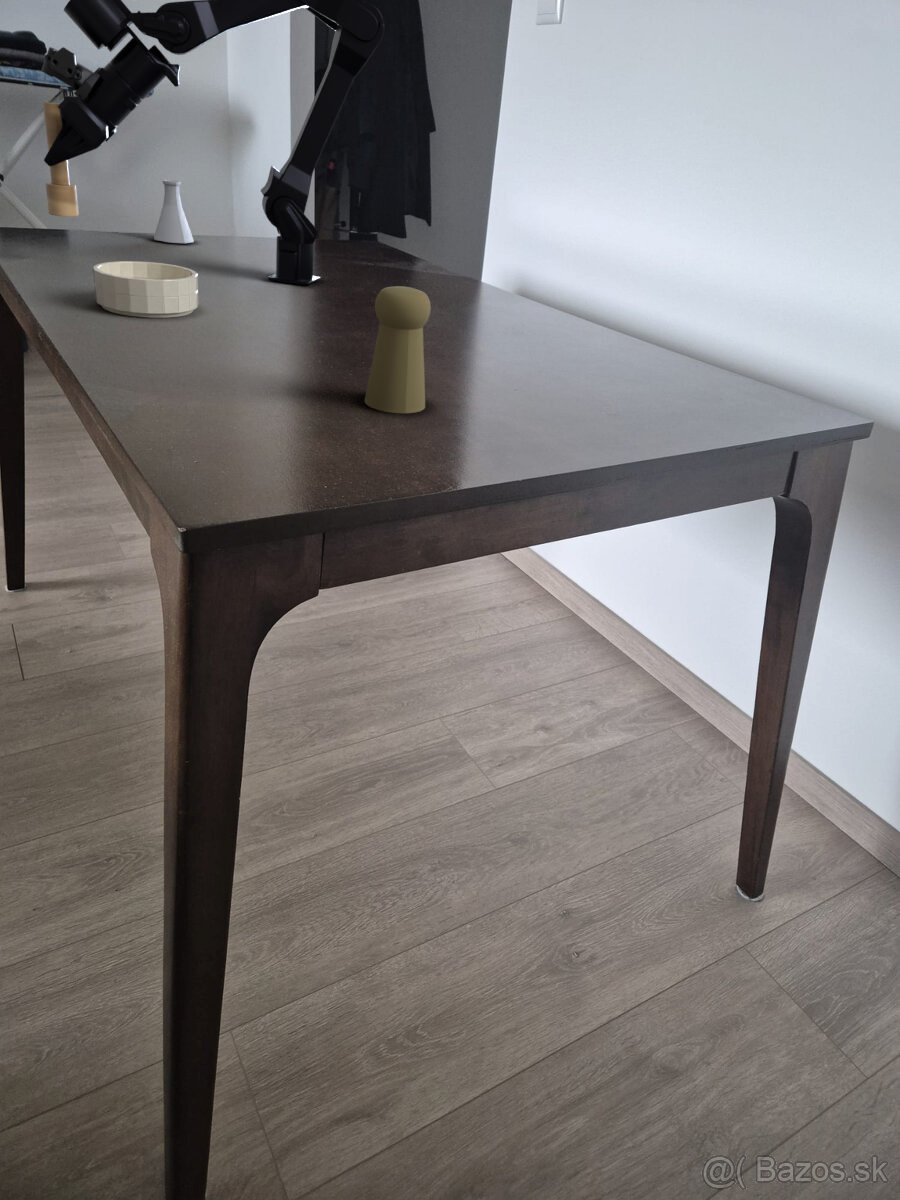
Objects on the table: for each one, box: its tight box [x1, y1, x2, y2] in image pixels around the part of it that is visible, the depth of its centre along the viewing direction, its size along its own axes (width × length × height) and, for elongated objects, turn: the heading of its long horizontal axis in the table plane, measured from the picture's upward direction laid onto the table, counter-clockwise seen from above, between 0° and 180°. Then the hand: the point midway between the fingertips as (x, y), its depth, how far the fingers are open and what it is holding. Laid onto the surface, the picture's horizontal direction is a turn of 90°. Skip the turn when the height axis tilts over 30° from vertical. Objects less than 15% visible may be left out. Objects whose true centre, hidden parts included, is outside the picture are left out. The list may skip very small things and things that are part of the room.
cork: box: [364, 285, 432, 414], centre depth 83 cm, size 6×6×11 cm
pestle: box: [42, 101, 80, 218], centre depth 121 cm, size 4×4×14 cm
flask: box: [153, 179, 195, 244], centre depth 155 cm, size 7×7×10 cm
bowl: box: [92, 260, 200, 319], centre depth 109 cm, size 12×12×4 cm
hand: (48, 162), depth 121 cm, fingers closed on pestle, 2 cm apart
